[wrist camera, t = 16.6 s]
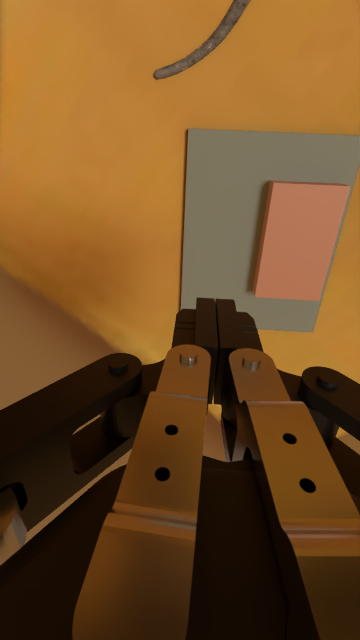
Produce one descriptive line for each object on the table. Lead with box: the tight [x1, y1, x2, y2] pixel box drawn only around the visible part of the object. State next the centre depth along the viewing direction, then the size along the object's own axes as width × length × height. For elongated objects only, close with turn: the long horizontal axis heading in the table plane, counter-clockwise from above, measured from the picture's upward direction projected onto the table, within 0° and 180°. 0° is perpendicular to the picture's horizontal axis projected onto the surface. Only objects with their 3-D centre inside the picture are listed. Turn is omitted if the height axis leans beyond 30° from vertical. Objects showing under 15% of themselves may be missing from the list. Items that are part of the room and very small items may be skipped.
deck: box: [252, 180, 351, 301], centre depth 29 cm, size 10×2×6 cm
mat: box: [181, 129, 360, 332], centre depth 30 cm, size 18×14×1 cm
